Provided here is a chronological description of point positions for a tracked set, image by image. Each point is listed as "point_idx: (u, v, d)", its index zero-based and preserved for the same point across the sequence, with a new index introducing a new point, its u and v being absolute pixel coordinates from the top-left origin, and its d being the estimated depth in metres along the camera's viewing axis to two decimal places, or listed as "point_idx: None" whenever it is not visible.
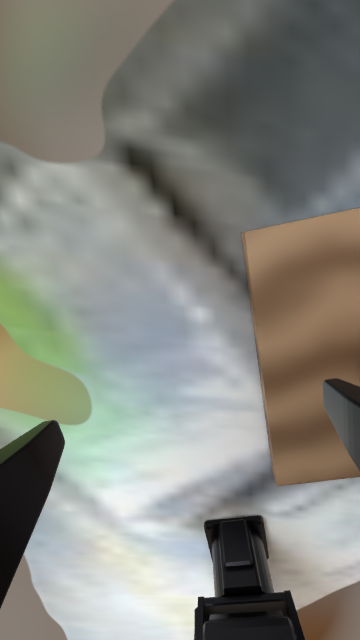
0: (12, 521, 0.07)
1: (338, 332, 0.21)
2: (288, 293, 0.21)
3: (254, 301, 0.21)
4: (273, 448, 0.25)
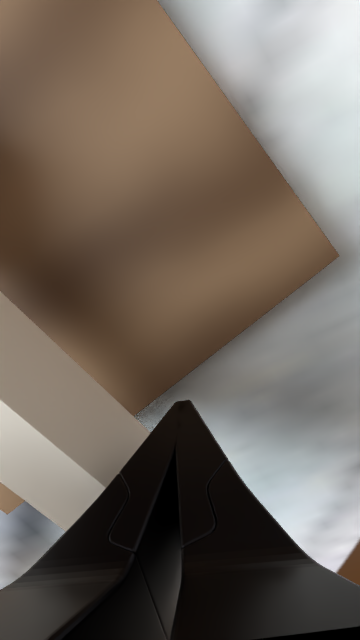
0: None
1: None
2: None
3: None
4: None
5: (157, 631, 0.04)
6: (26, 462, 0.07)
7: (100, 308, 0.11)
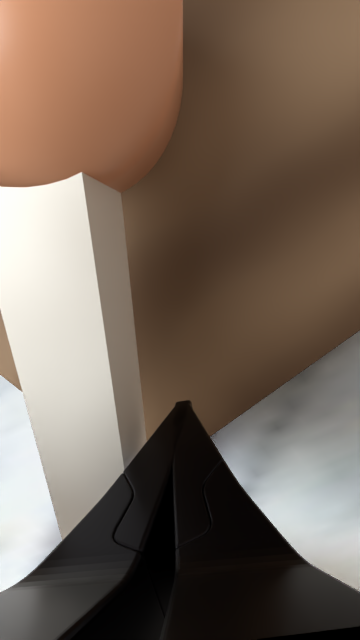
0: None
1: None
2: None
3: None
4: None
5: (162, 630, 0.04)
6: (85, 472, 0.07)
7: (289, 249, 0.10)
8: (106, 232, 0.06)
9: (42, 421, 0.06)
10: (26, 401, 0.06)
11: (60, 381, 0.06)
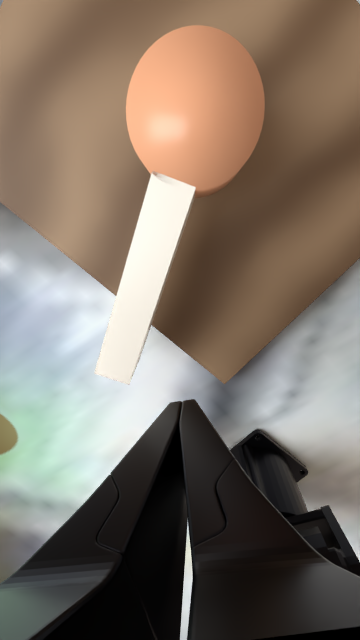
0: (179, 503, 0.07)
1: (112, 167, 0.16)
2: (27, 170, 0.16)
3: (8, 207, 0.17)
4: (179, 345, 0.20)
5: (144, 632, 0.04)
6: (131, 317, 0.14)
7: (309, 212, 0.17)
8: (187, 214, 0.13)
9: (125, 283, 0.13)
10: (124, 271, 0.13)
11: (143, 268, 0.13)
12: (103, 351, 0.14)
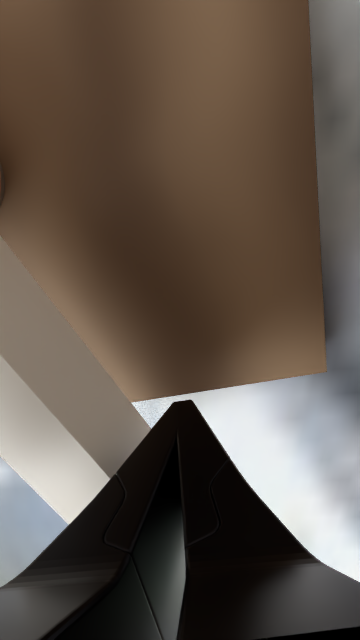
0: None
1: None
2: None
3: None
4: (215, 387, 0.12)
5: (151, 631, 0.04)
6: (63, 473, 0.07)
7: (156, 43, 0.08)
8: None
9: (0, 443, 0.07)
10: None
11: None
12: None
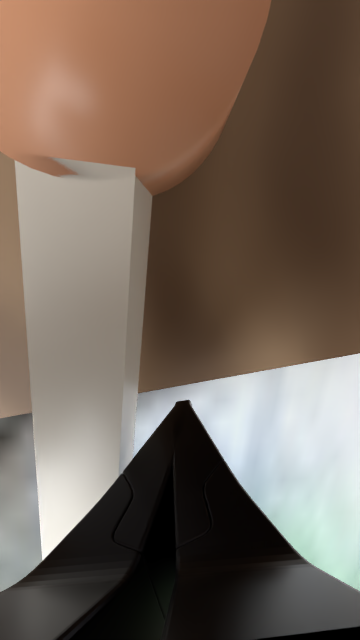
0: None
1: None
2: (15, 358, 0.11)
3: None
4: None
5: (161, 630, 0.04)
6: (79, 469, 0.07)
7: None
8: (140, 234, 0.06)
9: (44, 413, 0.06)
10: (32, 391, 0.06)
11: (71, 376, 0.06)
12: (46, 533, 0.07)
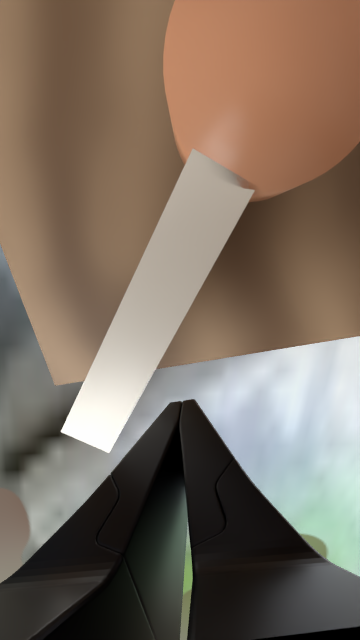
0: (179, 503, 0.07)
1: None
2: None
3: None
4: None
5: (144, 631, 0.04)
6: (126, 363, 0.09)
7: None
8: None
9: (124, 315, 0.09)
10: (124, 297, 0.09)
11: (155, 296, 0.09)
12: (78, 404, 0.10)
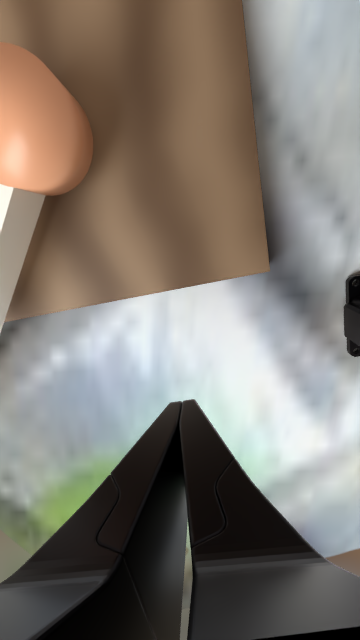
0: (179, 503, 0.07)
1: (36, 224, 0.19)
2: None
3: (19, 318, 0.21)
4: (203, 282, 0.19)
5: (144, 632, 0.04)
6: None
7: (171, 80, 0.16)
8: (21, 208, 0.15)
9: None
10: None
11: None
12: None
